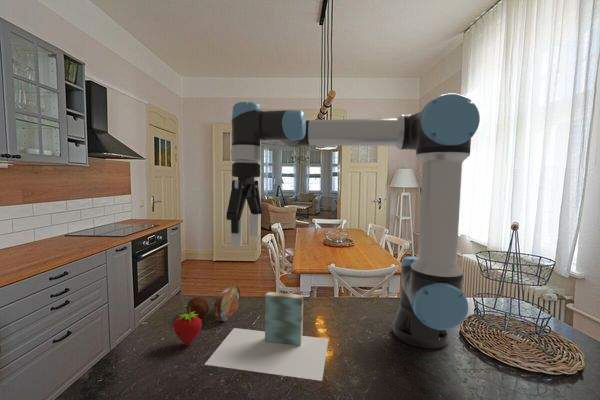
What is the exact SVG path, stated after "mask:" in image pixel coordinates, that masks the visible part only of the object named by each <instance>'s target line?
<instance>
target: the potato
mask: <svg viewBox="0 0 600 400" xmlns="http://www.w3.org/2000/svg"><path fill="white" fill-rule="evenodd" d="M209 309H210V307H209V302H208V301H207V299H206V298H205V297H202V296H199V295H198V296H197V295H196V296H194V297H191V298H190V300H189V301H188V302H187V304H186V311H187V314H189V313H191V312H194V311H195V312H194V313H193V314H198V315H196V316H197V317H199V318H200V319H201V320H202V319H203V318H205V317H206V316H207V315H208V313H209V312H208V311H209Z"/></svg>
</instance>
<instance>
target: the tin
mask: <svg viewBox="0 0 600 400" xmlns="http://www.w3.org/2000/svg"><path fill="white" fill-rule="evenodd" d="M240 302H241V291H240V288H239V287H238V286H237V285H235V286H234V285H229V286H228V287H226V288H225V289H224V290H223V291H222V292H220V293H219V294H218V295H217V296H216V297H215V301H214V304H213V309H214V310H213V312H214V313H213V314H214V319H215V320H216V321H218V322H227V321H228V320H230V318H231V317H232V316H233V315H234V314H235V312H236V311H237V310H238V309H239V307H240Z"/></svg>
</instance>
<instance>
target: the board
mask: <svg viewBox="0 0 600 400" xmlns="http://www.w3.org/2000/svg"><path fill="white" fill-rule="evenodd" d="M264 310H265V311H264V313H265V315H264V319H265V320H264V331H265V341H266V342H275V343H283V344H291V345H300V346H301V344H302V336H303V331H304V330H303V329H304V328H303V325H304V323H303V322H304V294H296V293H285V292H273V291H267V293H265V309H264Z"/></svg>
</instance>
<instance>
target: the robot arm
mask: <svg viewBox="0 0 600 400" xmlns="http://www.w3.org/2000/svg"><path fill="white" fill-rule="evenodd" d="M231 112H232V115H231V116H232V117H231V135H232V136H231V138H232V139H231V142H232V143H231V147H232V148H231V150H230V153H231V155H232V156H231V160H232V161H233V163H232V164H231V176H232V177H234V178H237V179H232V180H231V191H230V195H229V200H228V204H227V210H226V220H227V221H230V246H231V247H242V246H243V220H242V219H241V218H242V215H243V213H244V207H245V204H246V201H247V205H248V208H249V211H250V214H249V216H248V217H249V218H248V221H249V223H248V225H249V226H248V227H249V230H248V231H249V232H248V233H249V234H248V235H249V237H255V238H257V237H260V215H263V210H262V208H263V207H262V202H261V195H260V189H259V181H258V180H255V178H260V176H261V164H260V162H261V159H262V157H261V151H262V150H261V147H262V146H261V144H262V143H261V141H280V142H282V143H284V144H286V145H287V146H289V147H291V148H299V147H302V146H303V147H305V146H322V147H323V146H325V147H326V146H327V147H328V146H329V147H330V146H334V147H335V146H337V147H338V146H341V147H342V146H346V147H347V146H348V147H349V146H354V147H356V146H357V147H358V146H362V147H363V146H365V147H366V146H367V147H368V146H371V147H373V146H376V147H377V146H378V147H379V146H384V147H386V146H387V147H390V146H392V147H397V149H398V150H409V151H410V150H412V151H413V150H414V151H416V152H415V154H416V158H417V159H419V160H420V161H421V163H422V165H421V185H420V186H421V188H420V203H419V204H420V207H419V208H420V209H419V229H418V230H419V231H418V244H417V245H418V246H417V248H418V249H417V250H418V251H417V256H405V257H404V258H402V260H401V266H400V268H401V273H400V274H401V278H400V295H399V297H400V300H399V302H400V303H399V307H398V310H397V312H396V314H395V317H394V320H393V322H392V333H393V334H394V336H395V337H396V339H398V340H400V341H401V342H403V343H405V344H407V345H409V346H412V347H417V348H419V349H420V348H421V349H427V350H428V349H429V350H431V349H432V350H433V349H434V350H436V349H441V348H444V347H446V346H447V345H448V343H449V330H451V329H454V328H456V327H457V326H459V325H461V324H462V323H463V322H464V321H465V319H466V318H467V316H468V313H469V302H468V299H467V296H466V295H465V293H464V291H463V284H464V283H463V282H464V271H463V269H462V268H461V267H460V266H459V265H458V264H457V259H458V242H459V241H458V239H459V222H460V207H461V206H460V204H461V191H462V190H461V186H462V170H463V163H464V161H466V159H468V158H469V157H470V156H471V146H472V145H471V144H472V138H473V137H474V135H475V134H476V133H477V130H478V129H479V124H480V119H481V117H480V112H479V109H478V107H477V105H476V104H475V103H474V102H473V101H472V100H471V99H470V98H469V97H467V96H465V95H463V94H460V93H451V92H450V93H445V94H440V95H439V96H436V97H435V98H433V99H431V100H430V101H429V102H428V103H427V104H425V105H424V106H423V108H422V110H421V111H418V112H415V113H411V114H401V115H400V116H398V117H397V118H358V119H357V118H355V119H354V118H353V119H352V118H351V119H346V118H345V119H306V115H305V113H304V111H303V110H300V109H299V110H298V109H297V110H296V109H287V110H286V109H285V110H262V109H261V106H260V104H259V103H257V102H253V101H238V102H236V103H234V105H233V107H232V111H231Z"/></svg>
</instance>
